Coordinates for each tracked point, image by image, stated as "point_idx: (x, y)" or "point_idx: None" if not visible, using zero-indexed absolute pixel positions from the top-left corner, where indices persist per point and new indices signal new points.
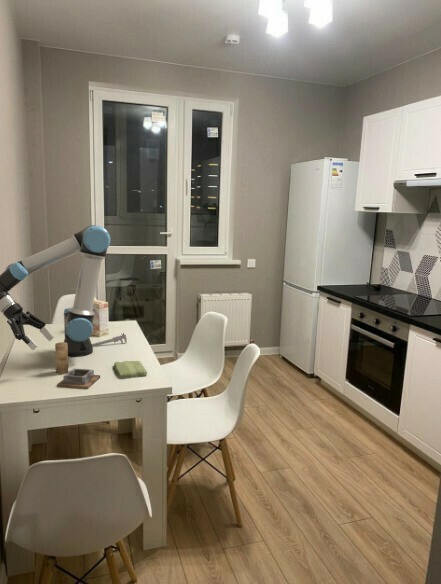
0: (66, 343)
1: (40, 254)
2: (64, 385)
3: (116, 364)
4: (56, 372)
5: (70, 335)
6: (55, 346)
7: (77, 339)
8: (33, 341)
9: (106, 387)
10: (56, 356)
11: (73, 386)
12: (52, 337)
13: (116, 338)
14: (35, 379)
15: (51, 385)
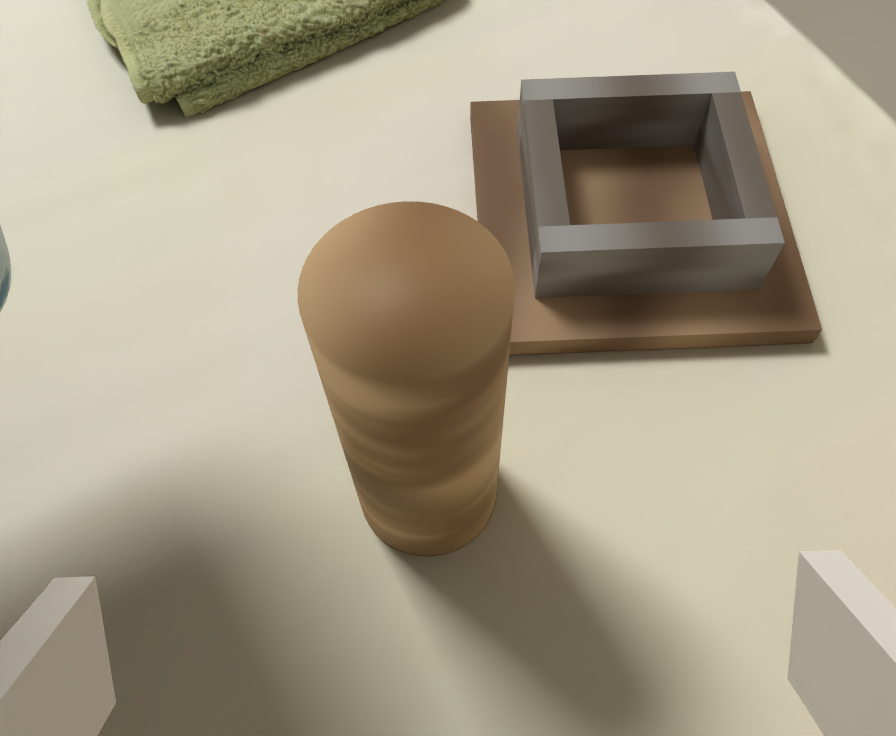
0: (358, 225)
1: None
2: (798, 264)
3: (238, 37)
4: (480, 527)
5: (4, 257)
6: (486, 365)
7: (2, 232)
8: (870, 631)
9: (655, 17)
10: (495, 426)
11: (776, 195)
12: (93, 592)
13: None
14: (732, 675)
15: (805, 406)
